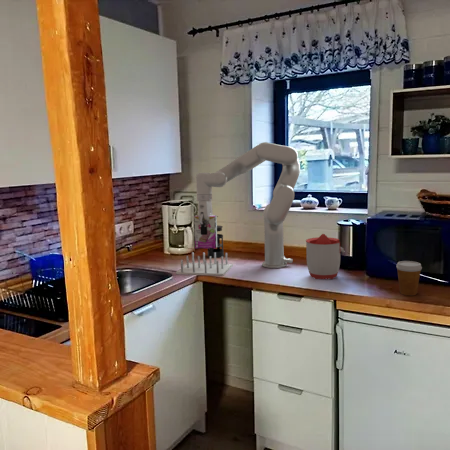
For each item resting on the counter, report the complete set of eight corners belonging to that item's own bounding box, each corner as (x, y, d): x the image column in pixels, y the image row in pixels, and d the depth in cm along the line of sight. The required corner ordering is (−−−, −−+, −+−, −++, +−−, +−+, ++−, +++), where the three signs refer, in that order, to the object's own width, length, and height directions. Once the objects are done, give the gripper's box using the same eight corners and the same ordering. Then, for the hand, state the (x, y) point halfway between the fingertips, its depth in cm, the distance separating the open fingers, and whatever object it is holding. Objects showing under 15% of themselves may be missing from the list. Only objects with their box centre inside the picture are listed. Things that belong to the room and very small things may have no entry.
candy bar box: (194, 248, 229) (193, 216, 227) (196, 246, 234) (194, 215, 232) (216, 248, 228) (215, 216, 226) (217, 246, 233) (216, 214, 231)
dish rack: (232, 265, 235) (232, 252, 234) (223, 275, 217) (222, 261, 216) (188, 264, 241) (187, 251, 240) (175, 274, 223) (175, 260, 222)
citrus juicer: (346, 281, 200) (346, 236, 197) (306, 281, 203) (305, 237, 200) (343, 272, 216) (343, 230, 212) (305, 272, 218) (305, 230, 215)
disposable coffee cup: (394, 288, 188) (395, 260, 186) (419, 290, 185) (420, 261, 183) (396, 295, 179) (396, 266, 177) (422, 297, 176) (423, 267, 174)
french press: (211, 253, 265) (210, 214, 262) (227, 254, 262) (225, 214, 258) (203, 258, 255) (201, 217, 251) (219, 259, 251) (217, 217, 248)
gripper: (206, 199, 218) (208, 236, 221) (216, 195, 235) (217, 230, 237) (191, 199, 220) (193, 236, 223) (202, 195, 236) (203, 230, 239)
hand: (205, 233), depth 230 cm, fingers closed on candy bar box, 5 cm apart
